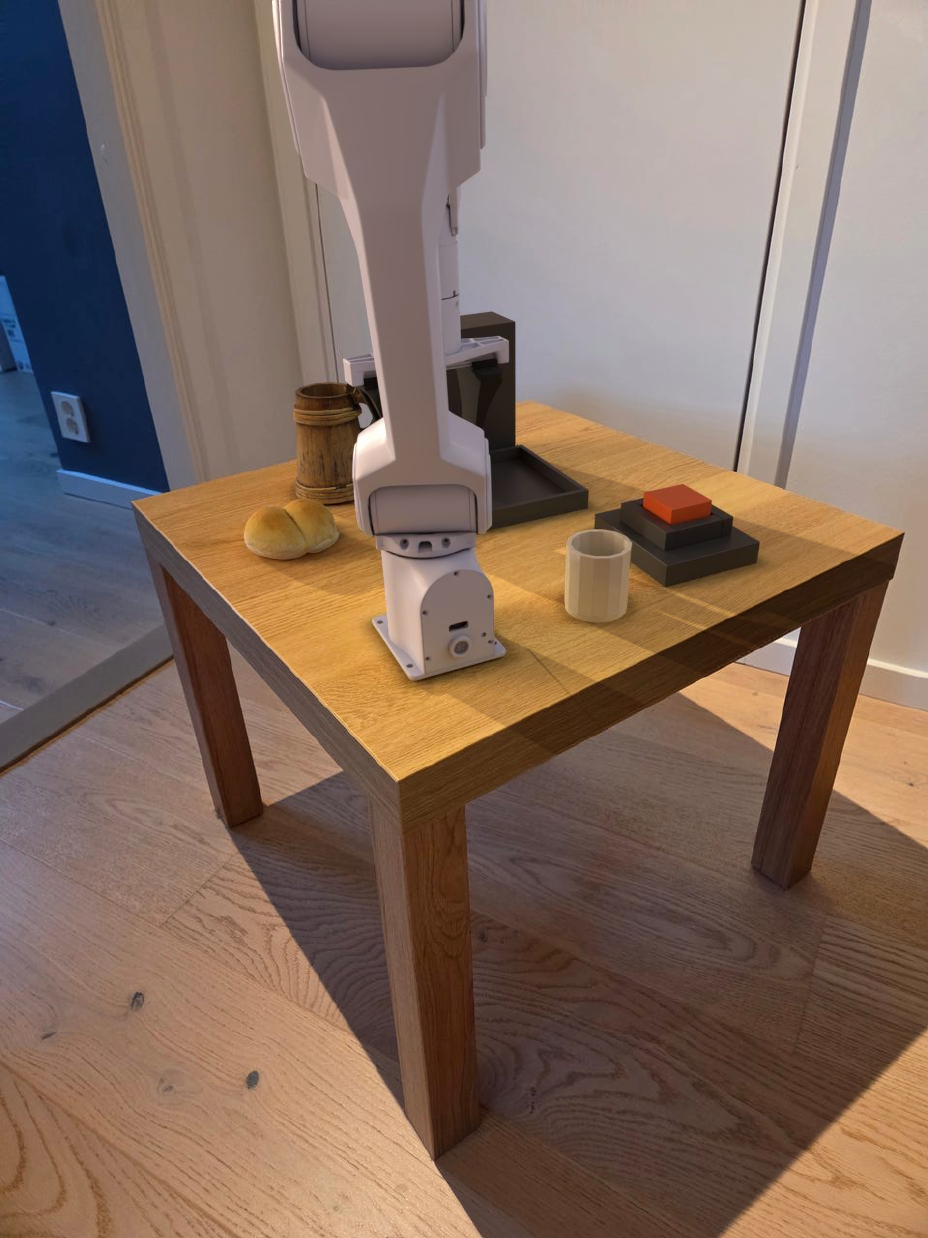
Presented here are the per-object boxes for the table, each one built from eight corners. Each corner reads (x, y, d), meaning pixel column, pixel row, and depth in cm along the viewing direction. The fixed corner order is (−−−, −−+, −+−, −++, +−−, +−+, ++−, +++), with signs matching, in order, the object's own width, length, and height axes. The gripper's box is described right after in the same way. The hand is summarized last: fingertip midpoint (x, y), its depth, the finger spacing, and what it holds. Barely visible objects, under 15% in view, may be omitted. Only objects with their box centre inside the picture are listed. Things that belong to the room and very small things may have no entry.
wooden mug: (407, 505, 90) (391, 330, 81) (285, 504, 92) (255, 333, 83) (422, 474, 98) (409, 311, 88) (309, 473, 100) (285, 314, 90)
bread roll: (239, 536, 86) (232, 500, 84) (324, 518, 89) (320, 482, 87) (257, 571, 79) (249, 532, 77) (348, 550, 82) (344, 512, 80)
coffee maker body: (515, 460, 101) (515, 321, 92) (421, 479, 97) (412, 335, 89) (494, 445, 106) (492, 311, 97) (403, 462, 102) (393, 324, 93)
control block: (756, 563, 78) (763, 523, 75) (664, 588, 74) (669, 547, 72) (678, 513, 87) (682, 477, 85) (593, 534, 84) (595, 496, 82)
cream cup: (639, 613, 71) (645, 549, 68) (584, 629, 69) (587, 563, 66) (606, 586, 75) (610, 524, 72) (553, 600, 73) (554, 537, 70)
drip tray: (588, 508, 89) (588, 489, 88) (472, 534, 84) (472, 515, 83) (521, 461, 101) (522, 444, 100) (417, 481, 96) (416, 464, 95)
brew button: (710, 517, 78) (712, 500, 77) (669, 527, 76) (671, 509, 75) (681, 500, 81) (683, 483, 80) (642, 509, 80) (643, 492, 79)
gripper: (483, 277, 76) (486, 426, 83) (326, 296, 71) (343, 452, 78) (520, 290, 70) (519, 448, 77) (352, 311, 65) (368, 478, 72)
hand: (433, 452), depth 77 cm, fingers open, 7 cm apart
